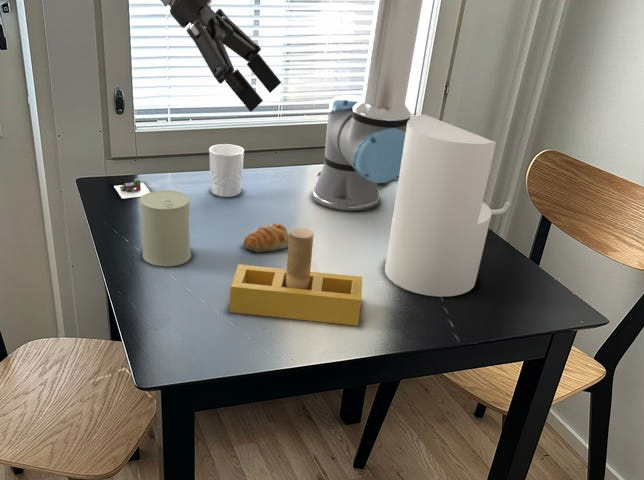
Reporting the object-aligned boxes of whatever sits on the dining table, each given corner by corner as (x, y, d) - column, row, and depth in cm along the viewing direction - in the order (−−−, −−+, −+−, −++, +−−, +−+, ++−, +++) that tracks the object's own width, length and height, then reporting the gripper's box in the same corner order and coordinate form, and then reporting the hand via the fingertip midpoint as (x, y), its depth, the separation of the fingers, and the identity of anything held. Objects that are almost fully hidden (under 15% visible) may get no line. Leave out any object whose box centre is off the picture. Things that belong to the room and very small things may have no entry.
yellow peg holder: (237, 289, 129) (238, 264, 126) (358, 301, 128) (362, 276, 125) (229, 312, 122) (230, 286, 119) (357, 326, 121) (361, 300, 118)
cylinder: (426, 304, 128) (457, 149, 112) (366, 265, 140) (386, 119, 124) (495, 284, 136) (532, 136, 120) (432, 248, 148) (459, 109, 132)
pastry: (256, 257, 140) (256, 239, 138) (235, 245, 144) (235, 227, 142) (292, 246, 145) (294, 229, 143) (272, 235, 149) (272, 217, 147)
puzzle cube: (137, 186, 167) (137, 176, 166) (140, 190, 165) (140, 180, 164) (119, 188, 166) (119, 178, 165) (122, 192, 164) (122, 182, 162)
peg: (298, 299, 127) (304, 225, 119) (311, 309, 124) (318, 234, 117) (279, 304, 125) (284, 230, 117) (292, 314, 123) (298, 239, 115)
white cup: (213, 184, 171) (213, 142, 166) (245, 187, 171) (246, 145, 165) (205, 196, 165) (205, 153, 159) (239, 199, 164) (240, 156, 158)
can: (150, 269, 134) (146, 209, 127) (137, 249, 140) (133, 190, 134) (197, 262, 137) (196, 203, 130) (182, 243, 144) (181, 185, 137)
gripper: (193, 1, 132) (268, 93, 138) (141, 22, 112) (232, 129, 118) (221, -30, 129) (297, 67, 134) (172, -13, 108) (264, 100, 114)
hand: (266, 96), depth 126 cm, fingers open, 13 cm apart
